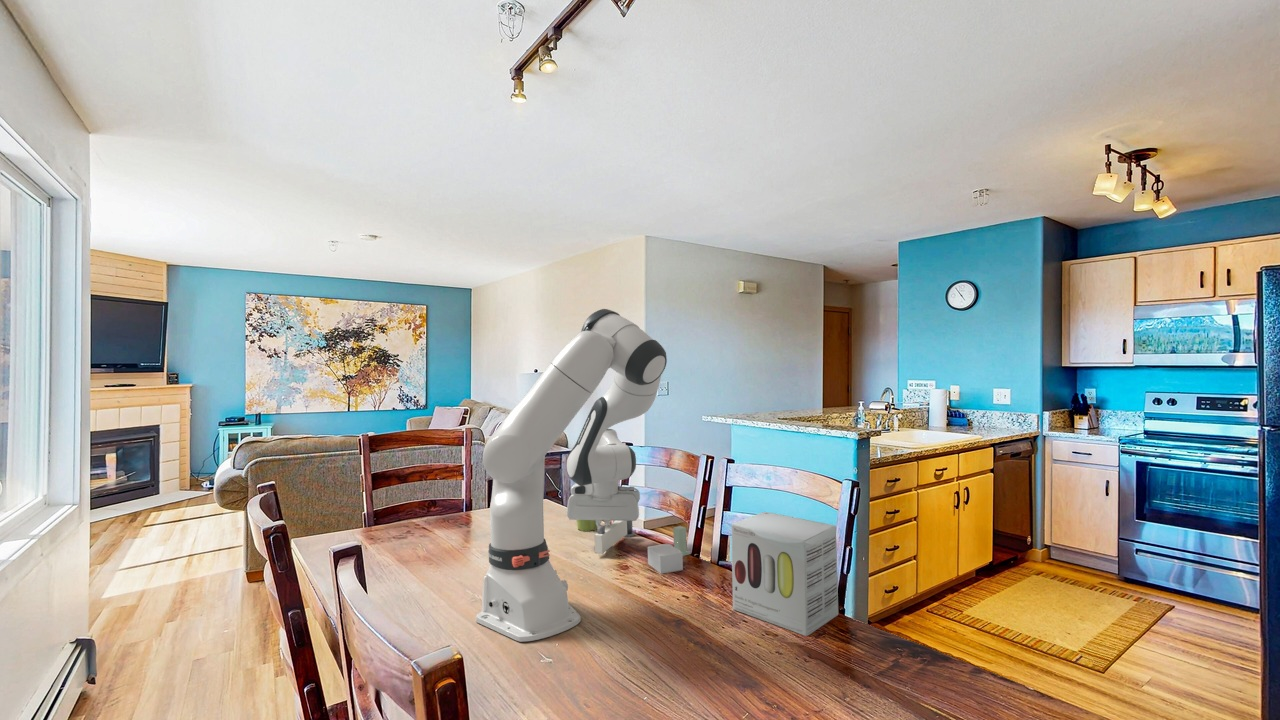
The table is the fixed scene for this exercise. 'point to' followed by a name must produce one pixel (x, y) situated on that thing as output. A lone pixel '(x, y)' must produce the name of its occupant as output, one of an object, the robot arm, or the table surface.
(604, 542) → the gate
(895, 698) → the table surface
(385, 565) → the table surface
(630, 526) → the hinge post
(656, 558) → the light grey block
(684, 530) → the post
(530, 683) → the table surface
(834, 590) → the supplement box
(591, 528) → the plant pot
